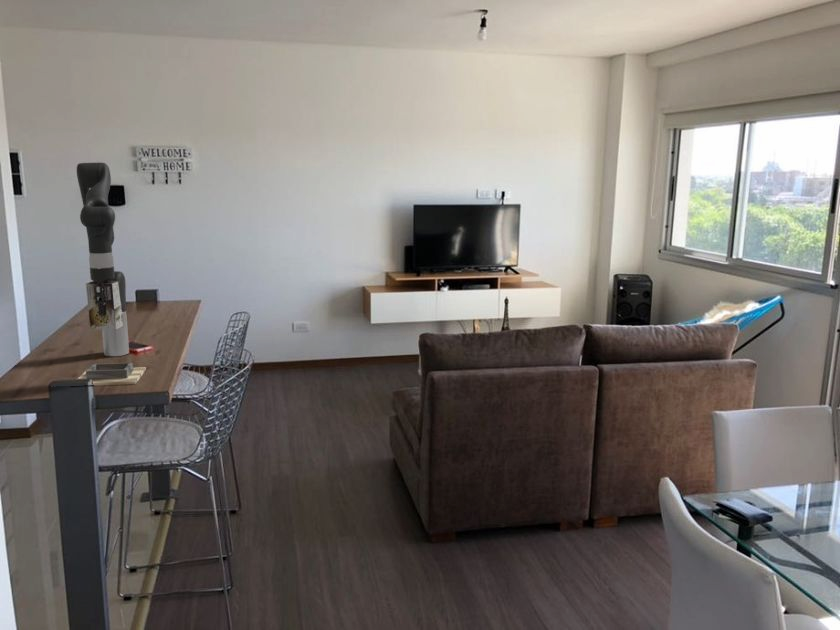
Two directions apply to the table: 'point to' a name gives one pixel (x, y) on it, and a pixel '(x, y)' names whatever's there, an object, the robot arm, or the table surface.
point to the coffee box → (112, 306)
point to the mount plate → (113, 374)
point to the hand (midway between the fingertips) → (105, 313)
